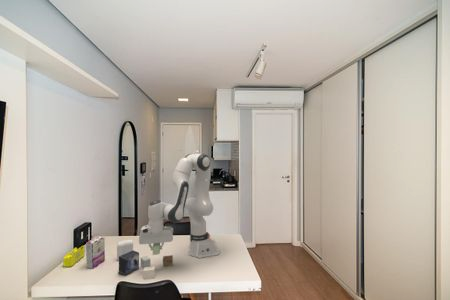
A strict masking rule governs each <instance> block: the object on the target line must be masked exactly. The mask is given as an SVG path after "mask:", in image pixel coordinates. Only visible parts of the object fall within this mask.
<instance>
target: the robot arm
mask: <svg viewBox="0 0 450 300" xmlns="http://www.w3.org/2000/svg"><path fill="white" fill-rule="evenodd" d="M210 165H211V158H210V156H208V155H207V154H204V153H188V154H187V155H185V157H182V158H180V159H179V161H178V163H177V165H176V167H175V169H174V172H173V174H172V178H171V181H172V183H173V185H174V186H175V187H176V188H177V195H176V198H175V204H172V203H167V202H164V201H162V200H161V199H160V200H159V199H157V200H153V201H151V202H150V203H149V204H148V208H147V209H148V210H147V212H148V214H147V218H148V222H147V223H148V224H146V225H143V226H142V227H141V228H140V233H139V237H138V245H148V247H149V248H150V251H153V245H152V244H153V243H160V250H163V247H164V244H165V243H171V242H173V241H174V234H173V233H174V228H173V227H172V226H171V225H170V226H164V220H166V221H170V222H171V223H173V224H177V223H180V222H181V221H182V220H183V218H184V216H185V210H186V211H187V213H188V217H189V221H190V233H189V240H190V243H189V249H188V255H189V256H192V257H196V258H198V259H202V258H208V257H209V258H210V257H213V256H219V255H220V253H221V252H220V250H221V249H220V248H219V247H218V246H217V243H216V241H215V240H214V239H213V238H211V235H210V233H209V232H208V231H207V221H206V219H205V218H204V217H206V216H207V217H208V216H210V215H211V214H212V213H213V211H214V205H213V203H212V201H211V199H210V185H211V183H210V182H211V166H210ZM193 170H195V171H196V172H195V178H194V183H193V191H194V193H195V196H196V197H193V196H192V197H188V193H189V189H190V188H189V187H190V185H189V182H190V177H191V175H192V171H193Z"/></svg>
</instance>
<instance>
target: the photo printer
mask: <svg viewBox="0 0 450 300" xmlns="http://www.w3.org/2000/svg"><path fill="white" fill-rule="evenodd" d="M132 250H133V251H134V241H133V240H132V239H126V240H121V241H119V242H117V246H116V260H117V262H119V256H121V255H123V254H126V253H128V252H130V251H132Z"/></svg>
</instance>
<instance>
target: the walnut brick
mask: <svg viewBox="0 0 450 300" xmlns="http://www.w3.org/2000/svg"><path fill="white" fill-rule="evenodd" d="M173 257H174V255H163V256H162V267H172V266H173V263H174V261H173Z"/></svg>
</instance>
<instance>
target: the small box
mask: <svg viewBox="0 0 450 300" xmlns="http://www.w3.org/2000/svg"><path fill="white" fill-rule="evenodd" d="M139 269H140V252H139V251H136V250H134V249H133V250H132V251H130V252H128V253H126V254H123V255H121V256H119V261H118V271H117V272H118V275H121V276H122V277H127V276H128V275H130V274H132V273H134V272H135V271H137V270H139Z"/></svg>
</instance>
